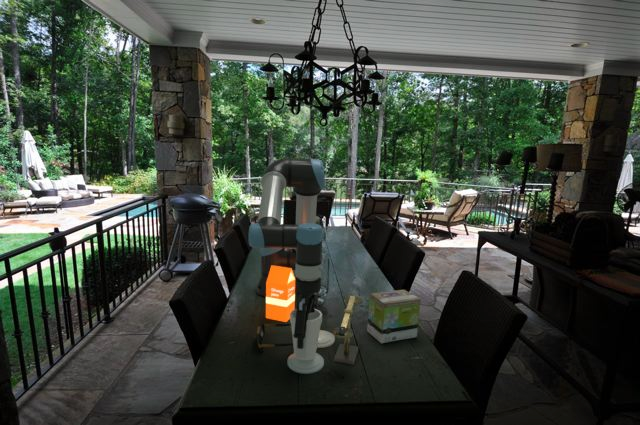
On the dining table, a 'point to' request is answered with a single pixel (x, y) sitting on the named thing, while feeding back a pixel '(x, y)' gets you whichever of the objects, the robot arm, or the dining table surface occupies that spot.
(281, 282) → the orange juice
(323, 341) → the dish high
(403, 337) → the tea box
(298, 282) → the robot arm
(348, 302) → the balance
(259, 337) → the sunglasses
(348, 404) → the dining table surface
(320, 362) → the dish low
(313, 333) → the foam cup
